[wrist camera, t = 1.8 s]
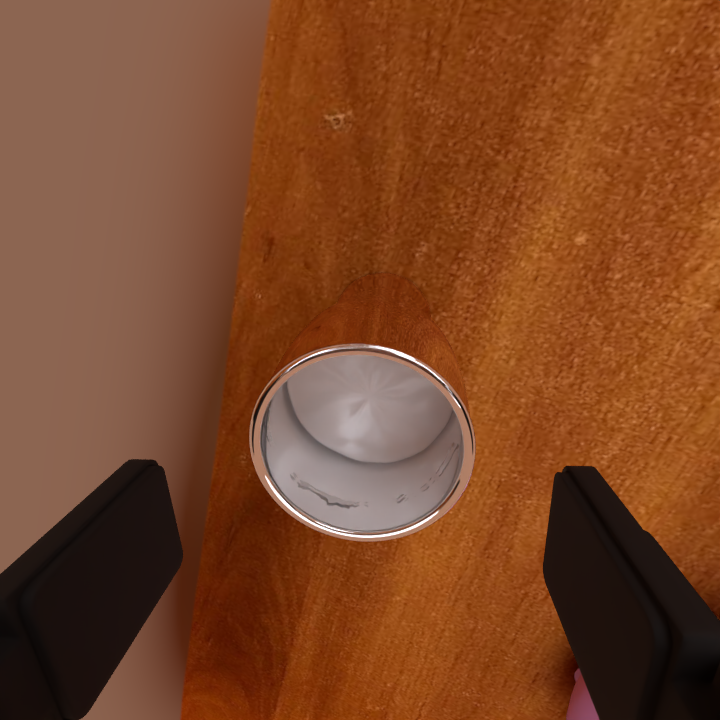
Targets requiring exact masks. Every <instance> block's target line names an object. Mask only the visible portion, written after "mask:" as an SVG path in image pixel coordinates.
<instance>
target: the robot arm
mask: <svg viewBox="0 0 720 720" xmlns="http://www.w3.org/2000/svg"><path fill="white" fill-rule="evenodd" d="M182 558H183V550H182V545H181V541H180V537H179V532H178V528H177V523H176V519H175V515H174V510H173V506H172V502H171V498H170V493H169V489H168V484H167V480H166V475H165V471H164V469H163V467H162V466H159V465H158V463H157V462H156V461H155V460H139V459H133V460H128V461H127V462H125V463H124V464H123V465H122V466H121V467H120V468H119V469H118V470H116V471H115V472H114V473H113V474H112V475H111V476H110V477H109V478H108V479H106V480H105V481H104V482H103V483H102V484H101V485H100V486H99V487H97V488H96V489H95V490H94V491H93V492H92V493H91V494H90V495H88V496H87V497H86V498H85V499H84V500H83V501H82V502H81V503H80V504H78V505H77V506H76V507H75V508H74V509H73V510H72V511H71V512H70V513H68V514H67V515H66V516H65V517H64V518H63V519H62V520H61V521H59V522H58V523H57V524H56V525H55V526H54V527H53V528H52V529H50V530H49V531H48V532H47V533H46V534H45V535H44V536H43V537H41V538H40V539H39V540H38V541H37V542H36V543H35V544H34V545H32V546H31V547H30V548H29V549H28V550H27V551H26V552H25V553H24V554H22V555H21V556H20V557H19V558H18V559H17V560H16V561H15V562H13V563H12V564H11V565H10V566H9V567H8V568H7V569H6V570H4V571H3V572H2V573H1V574H0V720H79V719H81V718H83V717H84V716H85V715H86V714H87V713H88V712H89V710H90V709H91V707H92V706H93V704H94V702H95V701H96V699H97V698H98V696H99V694H100V693H101V691H102V690H103V688H104V687H105V685H106V684H107V682H108V680H109V679H110V677H111V675H112V674H113V672H114V671H115V669H116V668H117V666H118V664H119V663H120V661H121V660H122V658H123V657H124V655H125V653H126V652H127V650H128V649H129V647H130V645H131V644H132V642H133V641H134V639H135V637H136V636H137V634H138V633H139V631H140V630H141V628H142V626H143V624H144V623H145V622H146V620H147V618H148V617H149V615H150V614H151V612H152V611H153V609H154V607H155V606H156V604H157V603H158V601H159V599H160V598H161V596H162V595H163V593H164V591H165V590H166V588H167V587H168V585H169V583H170V582H171V580H172V579H173V577H174V575H175V574H176V572H177V571H178V569H179V567H180V566H181V562H182ZM543 574H544V579H545V583H546V586H547V588H548V591H549V593H550V596H551V598H552V601H553V603H554V606H555V608H556V611H557V613H558V616H559V618H560V621H561V624H562V626H563V629H564V631H565V634H566V636H567V639H568V641H569V644H570V646H571V649H572V651H573V654H574V656H575V659H576V662H577V664H578V667H579V669H580V672H581V674H582V677H583V679H584V682H585V684H586V687H587V689H588V692H589V694H590V697H591V700H592V702H593V705H594V707H595V710H596V712H597V715H598V717H599V720H720V621H719V620H718V619H717V617H716V616H715V615H714V613H713V612H712V611H711V610H710V608H709V607H708V606H707V605H706V603H705V602H704V601H703V599H702V598H701V597H700V596H699V594H698V593H697V592H696V591H695V589H694V588H693V587H692V585H691V584H690V583H689V582H688V580H687V579H686V578H685V577H684V575H683V574H682V573H681V572H680V570H679V569H678V568H677V566H676V565H675V564H674V563H673V561H672V560H671V559H670V558H669V556H668V555H667V554H666V552H665V551H664V550H663V549H662V547H661V546H660V545H659V544H658V542H657V541H656V540H655V539H654V537H653V536H652V535H651V534H650V533H649V532H647V531H645V530H643V529H642V527H641V526H640V525H639V524H638V522H637V521H636V520H635V518H634V517H633V516H632V515H631V513H630V512H629V511H628V509H627V508H626V507H625V505H624V504H623V503H622V502H621V500H620V499H619V498H618V496H617V495H616V494H615V493H614V491H613V490H612V489H611V487H610V486H609V485H608V484H607V482H606V481H605V480H604V478H603V477H602V476H601V474H600V473H599V472H598V471H597V469H596V468H594V467H592V466H565V467H564V469H563V471H562V472H557V473H556V474H555V477H554V484H553V492H552V499H551V507H550V515H549V523H548V531H547V538H546V546H545V554H544V562H543Z"/></svg>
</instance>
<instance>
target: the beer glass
mask: <svg viewBox="0 0 720 720" xmlns="http://www.w3.org/2000/svg"><path fill="white" fill-rule="evenodd" d="M249 443H250V451H251V456H252V461H253V464H254V467H255V469H256V472H257V474H258V476H259V478H260V480H261V482H262V484H263V486H264V487H265V489H266V490H267V492H268V493H269V494H270V496H271V497H272V498H273V499H274V500H275V502H276V503H277V504H278V505H279V506H280V507H281V508H282V509H283V510H285V511H286V512H287V513H288V514H289V515H291V516H292V517H293V518H295V519H296V520H298V521H299V522H301V523H302V524H304V525H306V526H308V527H310V528H312V529H314V530H316V531H318V532H321V533H323V534H326V535H329V536H333V537H336V538H340V539H345V540H352V541H363V542H375V541H386V540H392V539H397V538H401V537H404V536H408V535H410V534H413V533H415V532H418V531H420V530H422V529H424V528H426V527H428V526H430V525H431V524H433V523H434V522H436V521H437V520H438V519H440V518H441V517H442V516H444V515H445V514H446V513H447V512H448V511H449V510H450V509H451V508H452V507H453V506H454V505H455V503H456V502H457V501H458V500H459V498H460V497H461V495H462V494H463V492H464V490H465V489H466V487H467V485H468V482H469V480H470V477H471V474H472V471H473V467H474V462H475V454H476V441H475V432H474V428H473V424H472V420H471V417H470V411H469V404H468V398H467V393H466V388H465V383H464V380H463V376H462V373H461V369H460V366H459V363H458V360H457V358H456V356H455V353H454V351H453V349H452V347H451V345H450V343H449V341H448V339H447V338H446V336H445V335H444V333H443V332H442V330H441V329H440V328H439V327H438V326H437V325H436V323H435V322H434V321H433V320H432V319H431V312H430V308H429V305H428V302H427V300H426V298H425V296H424V295H423V293H422V292H421V291H420V289H419V288H418V287H417V286H416V285H415V284H413V283H412V282H411V281H409V280H407V279H406V278H404V277H401V276H399V275H396V274H391V273H373V274H369V275H365V276H363V277H361V278H359V279H357V280H355V281H354V282H352V283H351V284H350V285H349V286H348V287H347V288H346V289H345V290H344V291H343V292H342V294H341V295H340V297H339V299H338V301H337V303H336V304H334V305H332V306H331V307H329V308H327V309H325V310H324V311H322V312H321V313H320V314H318V315H317V316H316V317H315V318H314V319H313V320H311V321H310V323H309V324H308V325H307V326H306V327H305V328H304V329H303V330H302V331H301V332H300V333H299V334H298V335H297V336H296V338H295V339H294V341H293V342H292V343H291V345H290V346H289V348H288V349H287V351H286V352H285V354H284V355H283V357H282V359H281V360H280V362H279V364H278V366H277V367H276V369H275V371H274V373H273V375H272V377H271V379H270V381H269V382H268V384H267V385H266V386H265V388H264V389H263V391H262V393H261V394H260V396H259V398H258V400H257V402H256V405H255V407H254V410H253V414H252V418H251V423H250V431H249Z"/></svg>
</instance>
